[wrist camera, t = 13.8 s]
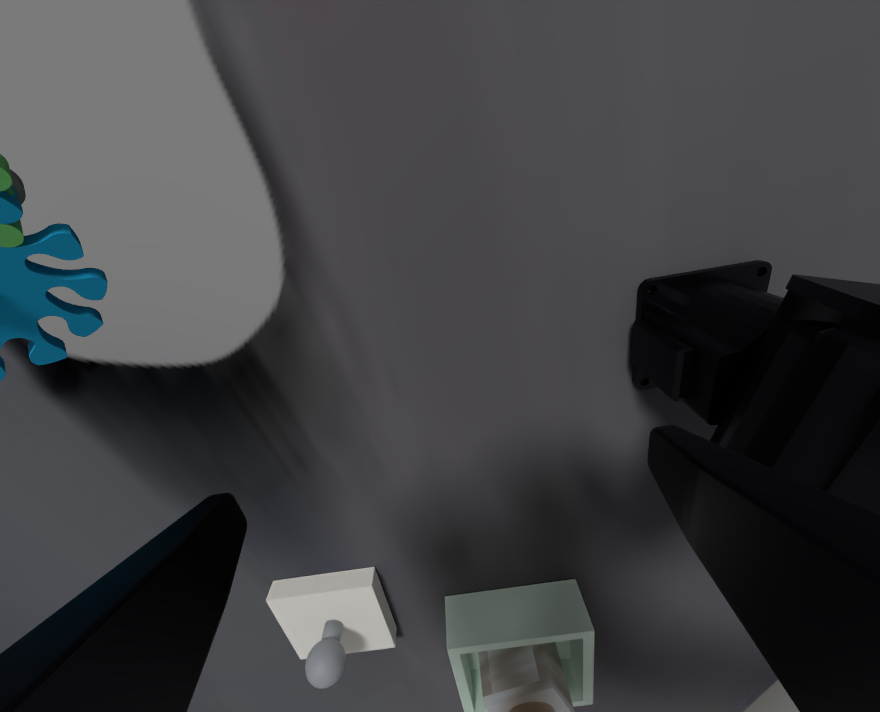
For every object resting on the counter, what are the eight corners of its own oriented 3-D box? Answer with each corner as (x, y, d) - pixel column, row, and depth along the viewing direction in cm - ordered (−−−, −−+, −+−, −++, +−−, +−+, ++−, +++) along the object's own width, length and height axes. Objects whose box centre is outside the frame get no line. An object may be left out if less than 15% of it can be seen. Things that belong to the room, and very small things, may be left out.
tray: (575, 578, 30) (594, 630, 27) (576, 652, 34) (592, 704, 31) (444, 596, 30) (446, 649, 27) (462, 666, 35) (466, 719, 31)
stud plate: (374, 566, 29) (363, 646, 24) (396, 627, 32) (391, 708, 27) (273, 580, 29) (242, 662, 24) (305, 639, 32) (284, 721, 27)
